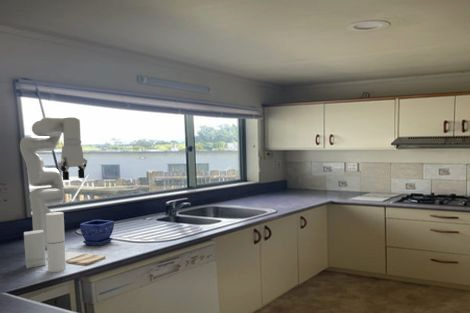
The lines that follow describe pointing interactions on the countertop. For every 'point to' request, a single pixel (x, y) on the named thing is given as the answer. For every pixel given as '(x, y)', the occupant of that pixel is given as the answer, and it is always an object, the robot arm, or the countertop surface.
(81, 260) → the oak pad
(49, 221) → the cylindrical container
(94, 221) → the flower pot
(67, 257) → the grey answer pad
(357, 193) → the countertop surface
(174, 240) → the countertop surface
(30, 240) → the skincare box
